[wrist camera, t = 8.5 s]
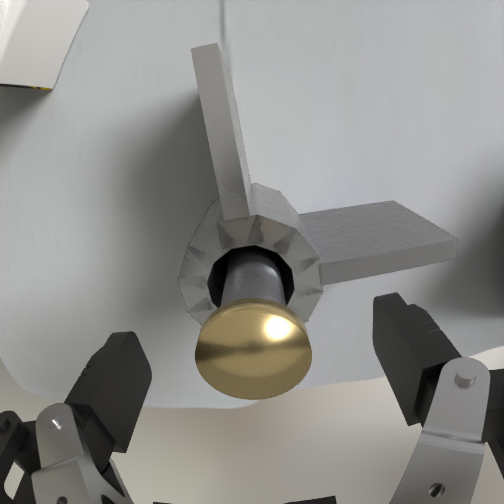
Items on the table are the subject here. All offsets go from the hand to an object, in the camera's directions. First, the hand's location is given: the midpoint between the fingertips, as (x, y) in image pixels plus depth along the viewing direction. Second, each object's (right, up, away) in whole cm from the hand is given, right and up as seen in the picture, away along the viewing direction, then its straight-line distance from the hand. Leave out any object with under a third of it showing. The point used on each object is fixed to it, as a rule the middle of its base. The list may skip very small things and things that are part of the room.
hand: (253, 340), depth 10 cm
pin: (0, +4, +11) cm, 12 cm away
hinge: (+3, +8, +9) cm, 13 cm away
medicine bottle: (-16, +19, +6) cm, 25 cm away
